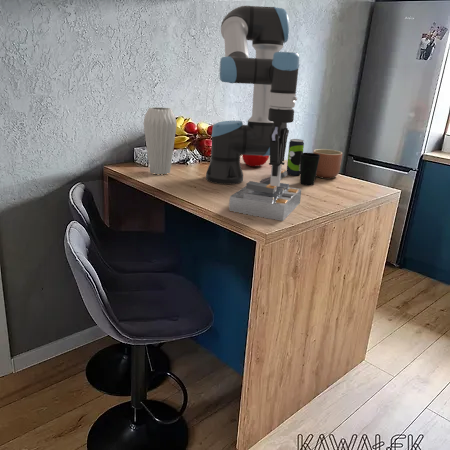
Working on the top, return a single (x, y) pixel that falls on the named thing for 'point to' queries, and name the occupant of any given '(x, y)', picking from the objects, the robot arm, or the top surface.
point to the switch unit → (266, 202)
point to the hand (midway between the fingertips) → (274, 185)
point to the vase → (160, 138)
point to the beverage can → (294, 156)
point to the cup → (308, 168)
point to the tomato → (254, 160)
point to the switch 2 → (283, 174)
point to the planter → (328, 163)
